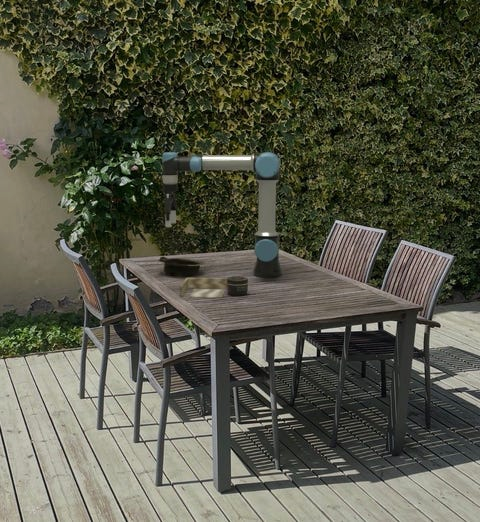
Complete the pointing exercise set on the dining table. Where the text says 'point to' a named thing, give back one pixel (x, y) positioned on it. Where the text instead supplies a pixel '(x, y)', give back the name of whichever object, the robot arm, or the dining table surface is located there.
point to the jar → (237, 286)
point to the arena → (210, 284)
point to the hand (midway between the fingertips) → (170, 225)
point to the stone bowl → (180, 266)
